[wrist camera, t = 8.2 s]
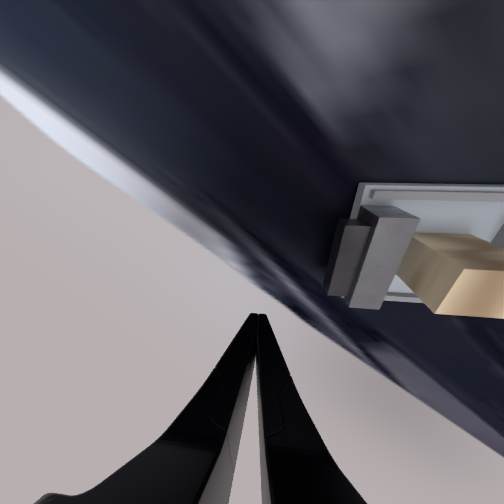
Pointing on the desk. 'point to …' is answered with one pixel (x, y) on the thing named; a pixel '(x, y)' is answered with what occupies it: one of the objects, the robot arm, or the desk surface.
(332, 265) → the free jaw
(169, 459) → the robot arm
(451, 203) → the vise bed
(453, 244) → the maple block
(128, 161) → the desk surface
